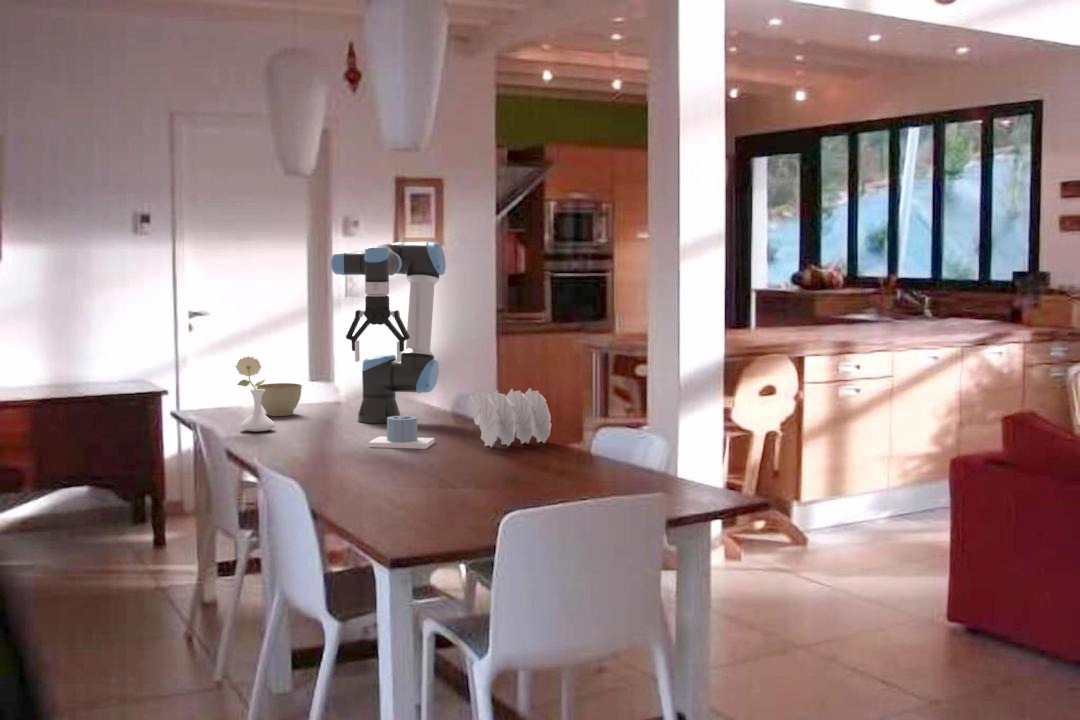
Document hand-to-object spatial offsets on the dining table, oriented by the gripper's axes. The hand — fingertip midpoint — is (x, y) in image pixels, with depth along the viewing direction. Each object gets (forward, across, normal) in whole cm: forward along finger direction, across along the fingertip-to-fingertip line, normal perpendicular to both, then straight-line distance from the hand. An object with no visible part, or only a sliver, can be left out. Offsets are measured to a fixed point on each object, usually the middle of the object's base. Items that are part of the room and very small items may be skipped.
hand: (378, 361), depth 379 cm
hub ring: (+23, +10, -12) cm, 28 cm away
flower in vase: (+25, -44, +9) cm, 52 cm away
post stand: (+24, +10, -12) cm, 29 cm away
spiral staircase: (+25, +44, -7) cm, 51 cm away
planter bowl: (+26, -49, +49) cm, 74 cm away
